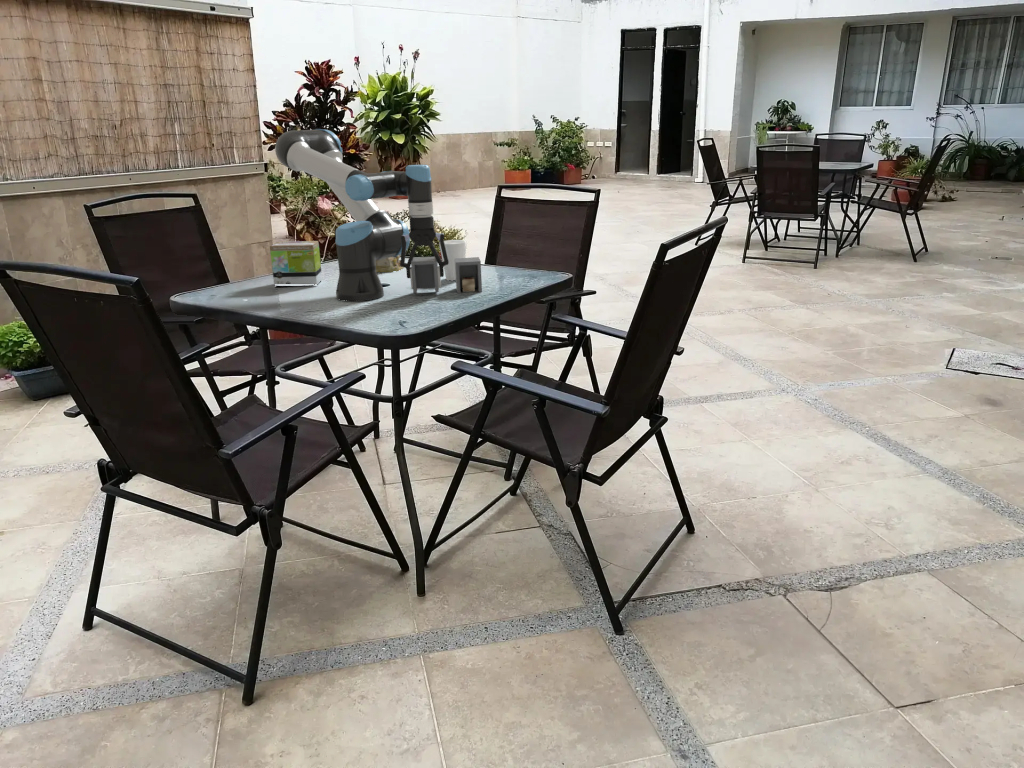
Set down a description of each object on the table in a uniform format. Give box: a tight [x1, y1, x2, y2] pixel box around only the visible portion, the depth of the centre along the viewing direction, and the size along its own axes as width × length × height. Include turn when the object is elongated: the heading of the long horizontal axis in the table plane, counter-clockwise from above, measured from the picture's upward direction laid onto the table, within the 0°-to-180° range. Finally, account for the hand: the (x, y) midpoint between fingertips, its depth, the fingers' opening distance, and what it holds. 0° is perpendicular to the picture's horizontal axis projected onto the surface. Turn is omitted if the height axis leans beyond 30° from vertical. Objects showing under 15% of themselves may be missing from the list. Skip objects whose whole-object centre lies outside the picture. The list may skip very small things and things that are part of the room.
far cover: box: [455, 256, 483, 294], centre depth 255 cm, size 8×8×10 cm
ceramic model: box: [375, 255, 405, 273], centre depth 296 cm, size 14×11×10 cm
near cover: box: [410, 256, 440, 294], centre depth 251 cm, size 8×8×10 cm
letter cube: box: [462, 277, 476, 292], centre depth 256 cm, size 4×4×4 cm
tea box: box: [269, 240, 323, 285], centre depth 273 cm, size 15×10×15 cm, turn 92°
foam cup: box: [438, 239, 468, 282], centre depth 273 cm, size 10×9×13 cm
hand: (426, 287), depth 252 cm, fingers closed on near cover, 8 cm apart
